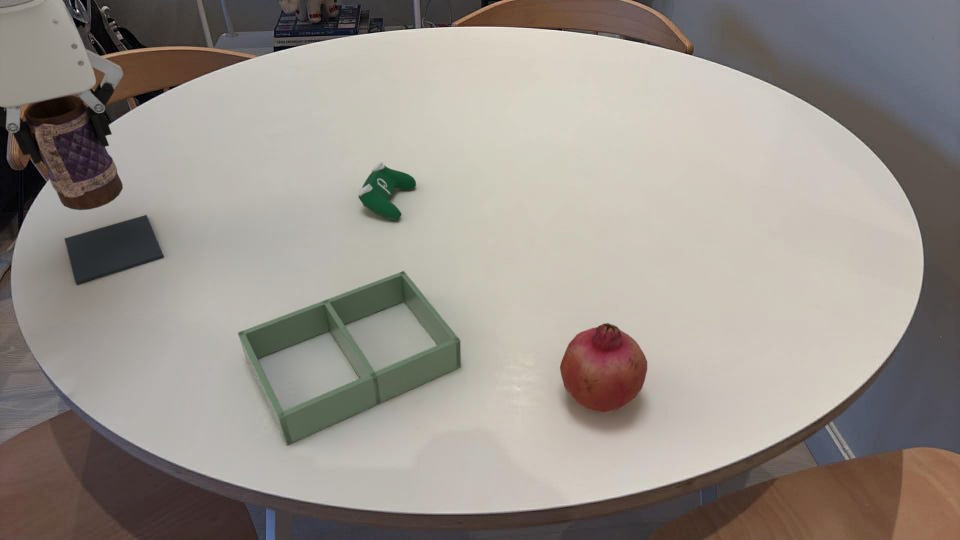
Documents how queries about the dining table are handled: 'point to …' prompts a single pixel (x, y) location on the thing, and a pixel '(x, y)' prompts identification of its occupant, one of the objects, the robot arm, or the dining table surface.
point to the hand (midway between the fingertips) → (70, 148)
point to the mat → (112, 249)
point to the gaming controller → (384, 190)
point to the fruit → (603, 368)
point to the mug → (73, 153)
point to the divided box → (351, 353)
